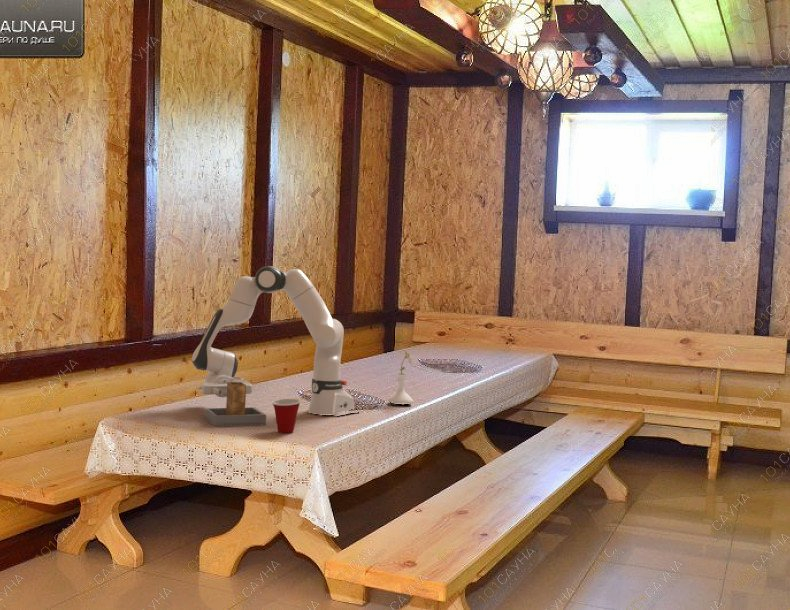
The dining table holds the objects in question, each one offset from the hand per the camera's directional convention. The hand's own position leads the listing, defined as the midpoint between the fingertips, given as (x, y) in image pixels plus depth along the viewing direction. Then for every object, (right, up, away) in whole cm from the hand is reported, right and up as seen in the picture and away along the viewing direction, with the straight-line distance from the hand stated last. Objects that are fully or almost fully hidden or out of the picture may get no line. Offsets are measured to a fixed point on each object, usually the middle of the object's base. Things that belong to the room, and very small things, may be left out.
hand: (231, 391), depth 410 cm
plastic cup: (+23, -14, -19) cm, 33 cm away
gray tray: (+2, -11, -5) cm, 13 cm away
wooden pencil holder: (+2, -10, -5) cm, 12 cm away
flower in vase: (+67, -10, +53) cm, 86 cm away
